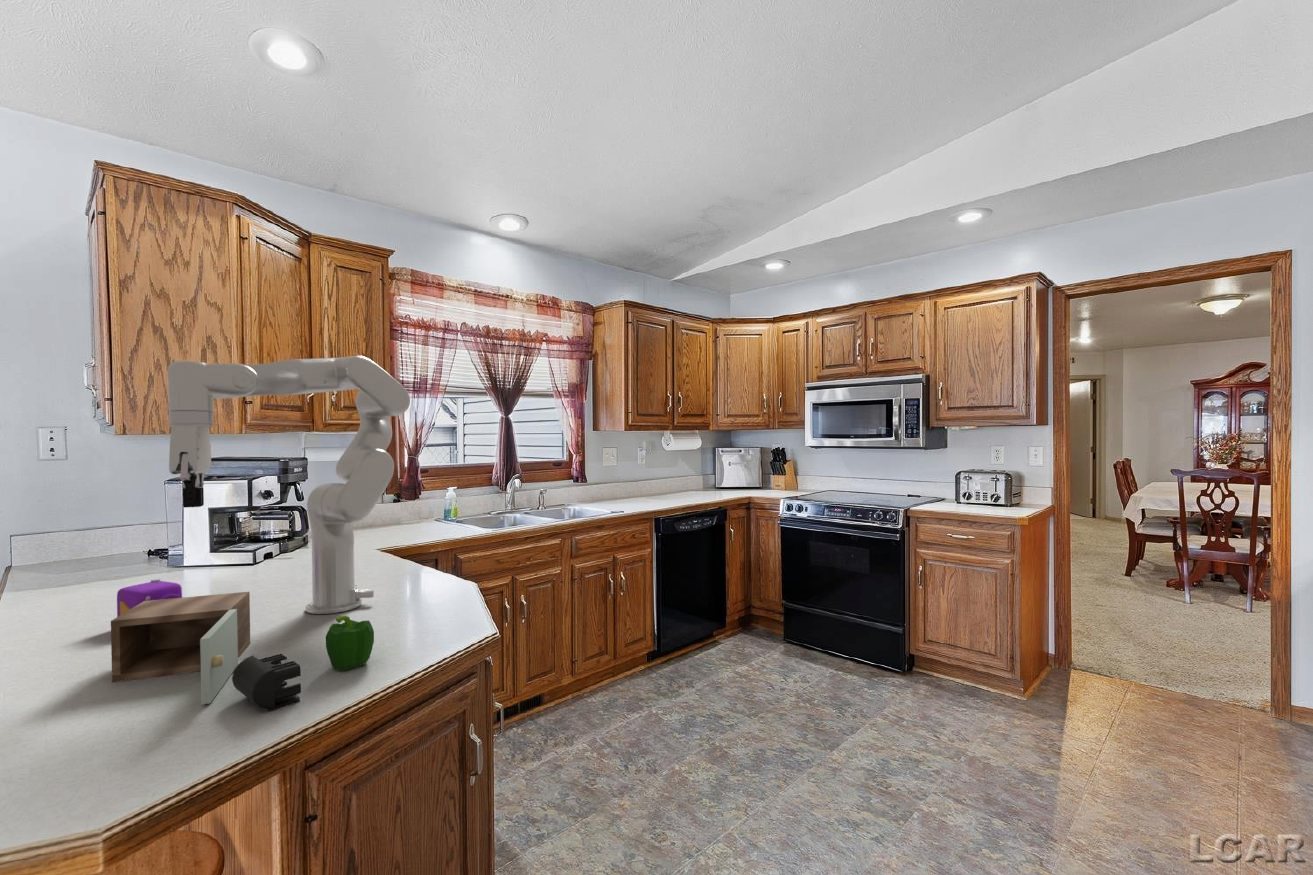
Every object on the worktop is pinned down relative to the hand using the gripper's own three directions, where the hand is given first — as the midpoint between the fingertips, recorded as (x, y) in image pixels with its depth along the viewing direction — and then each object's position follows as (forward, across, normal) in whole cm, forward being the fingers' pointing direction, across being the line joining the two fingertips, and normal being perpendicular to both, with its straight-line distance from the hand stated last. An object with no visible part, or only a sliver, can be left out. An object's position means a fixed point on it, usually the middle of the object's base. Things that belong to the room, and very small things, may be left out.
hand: (193, 506), depth 129 cm
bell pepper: (+29, +27, +32) cm, 51 cm away
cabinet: (+29, +12, +2) cm, 31 cm away
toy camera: (+29, -18, -13) cm, 37 cm away
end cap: (+29, +39, +21) cm, 53 cm away
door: (+29, +28, +12) cm, 42 cm away
